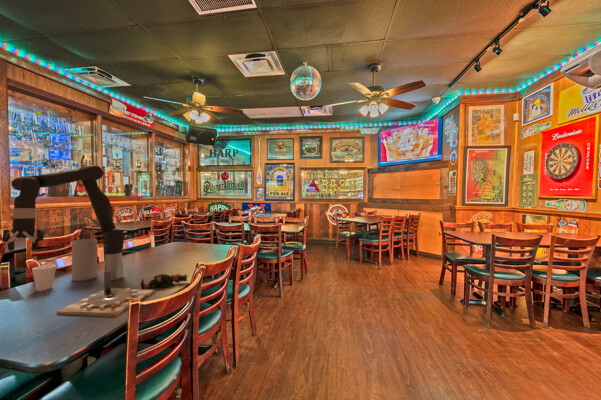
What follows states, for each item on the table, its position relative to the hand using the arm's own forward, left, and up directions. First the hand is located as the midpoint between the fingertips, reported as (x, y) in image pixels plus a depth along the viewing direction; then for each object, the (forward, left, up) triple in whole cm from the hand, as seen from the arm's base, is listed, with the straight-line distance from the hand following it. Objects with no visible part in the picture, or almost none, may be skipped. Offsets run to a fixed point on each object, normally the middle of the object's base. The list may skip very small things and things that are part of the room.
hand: (22, 250), depth 119 cm
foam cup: (-21, -14, -28) cm, 38 cm away
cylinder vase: (-40, -8, -28) cm, 50 cm away
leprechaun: (-34, +51, -29) cm, 67 cm away
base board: (-8, +38, -28) cm, 48 cm away
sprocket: (-8, +38, -27) cm, 47 cm away
